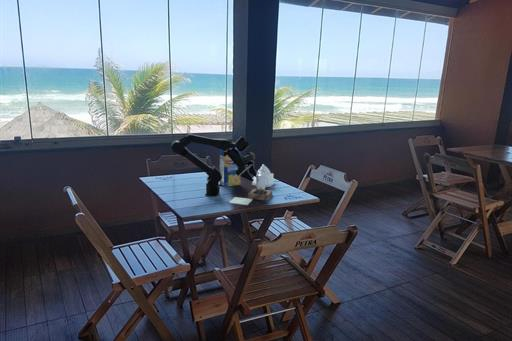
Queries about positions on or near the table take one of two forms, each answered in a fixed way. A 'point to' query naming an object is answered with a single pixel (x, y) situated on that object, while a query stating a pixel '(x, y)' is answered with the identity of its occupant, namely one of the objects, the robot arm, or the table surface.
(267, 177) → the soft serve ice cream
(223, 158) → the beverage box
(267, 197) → the walnut stand
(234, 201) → the sage mat
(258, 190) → the steel tube
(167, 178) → the table surface
